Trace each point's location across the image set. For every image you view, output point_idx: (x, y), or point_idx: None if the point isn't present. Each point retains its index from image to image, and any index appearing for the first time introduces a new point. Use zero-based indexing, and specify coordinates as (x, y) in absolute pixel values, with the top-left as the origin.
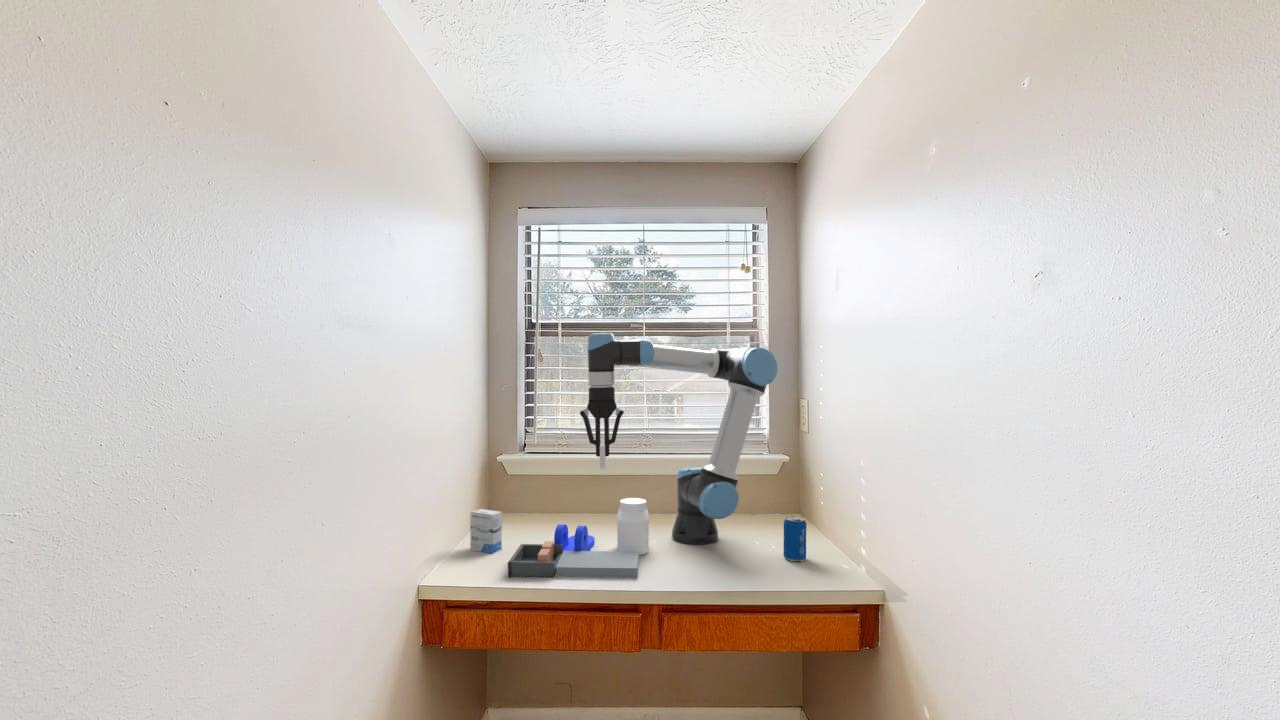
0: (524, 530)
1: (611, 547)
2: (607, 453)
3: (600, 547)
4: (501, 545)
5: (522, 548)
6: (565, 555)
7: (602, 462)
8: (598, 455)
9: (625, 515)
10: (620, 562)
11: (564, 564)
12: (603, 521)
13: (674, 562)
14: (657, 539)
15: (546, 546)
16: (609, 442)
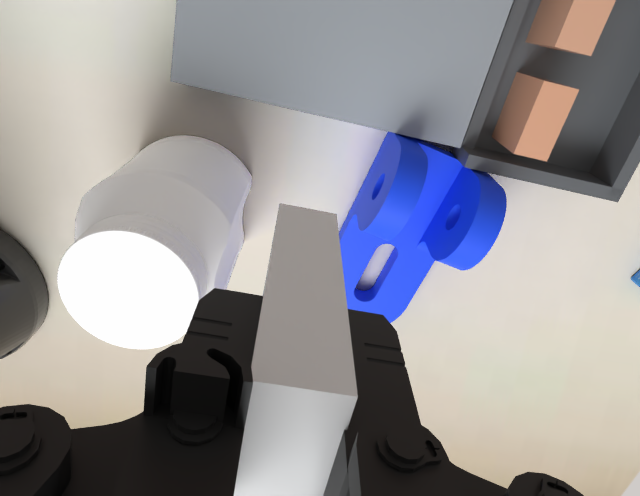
0: (513, 430)
1: (266, 235)
2: (221, 316)
3: None
4: (638, 283)
5: (619, 164)
6: (464, 88)
7: (308, 236)
8: (359, 321)
9: (188, 213)
10: None
11: None
12: None
13: (40, 24)
14: None
15: (559, 88)
16: (122, 457)
